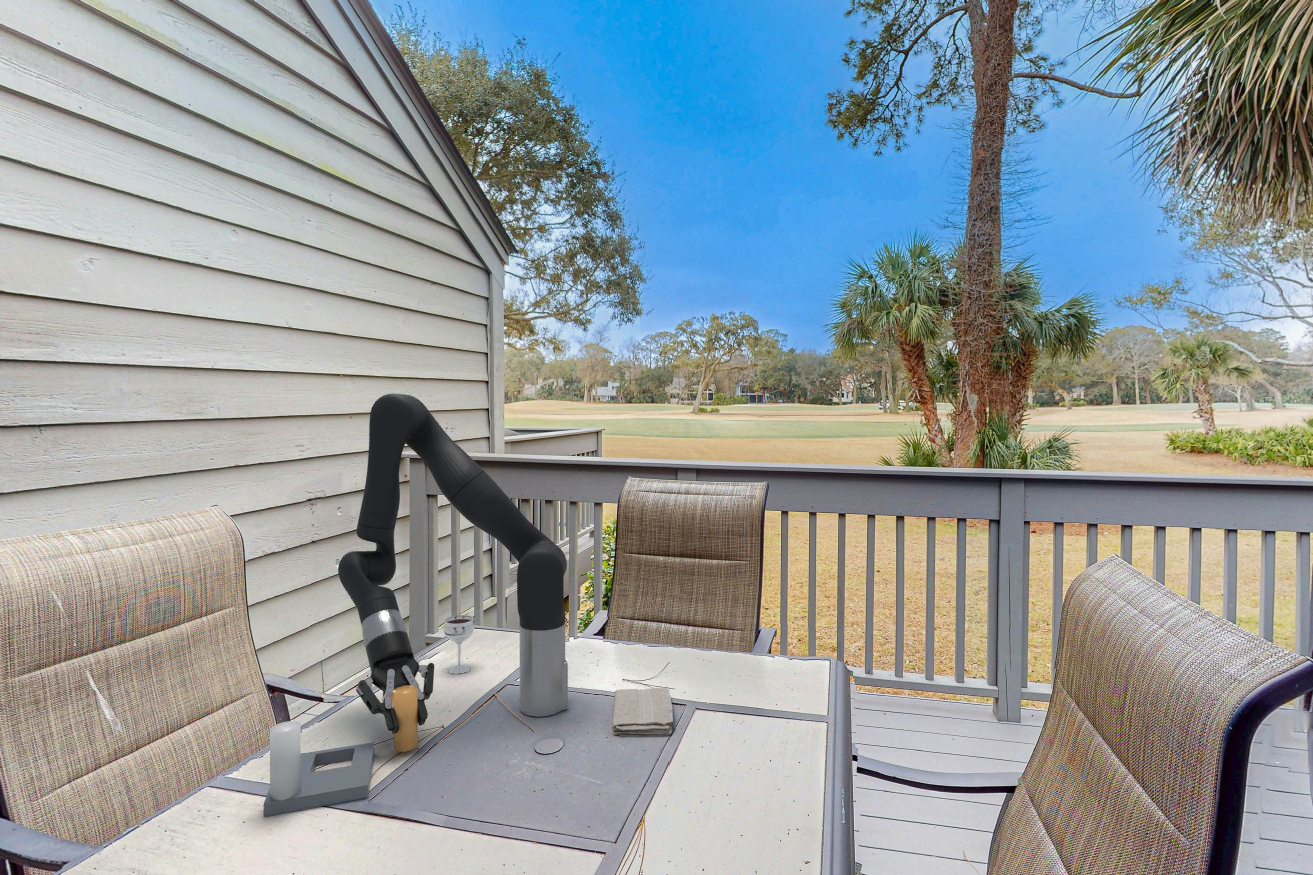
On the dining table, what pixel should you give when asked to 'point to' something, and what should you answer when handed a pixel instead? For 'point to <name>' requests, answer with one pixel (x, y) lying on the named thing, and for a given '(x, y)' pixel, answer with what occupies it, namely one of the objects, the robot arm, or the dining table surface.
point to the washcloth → (642, 712)
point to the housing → (313, 773)
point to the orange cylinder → (406, 718)
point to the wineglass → (459, 635)
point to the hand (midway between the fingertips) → (409, 726)
